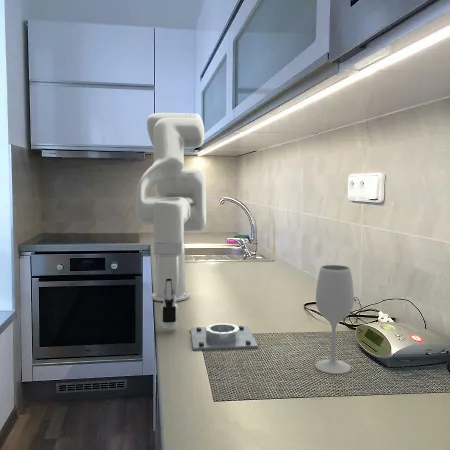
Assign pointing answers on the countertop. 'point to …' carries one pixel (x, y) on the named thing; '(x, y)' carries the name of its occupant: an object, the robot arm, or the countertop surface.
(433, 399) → the countertop surface
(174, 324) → the pill bottle
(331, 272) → the wineglass
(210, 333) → the duct collar
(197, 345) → the flange plate
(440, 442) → the countertop surface
